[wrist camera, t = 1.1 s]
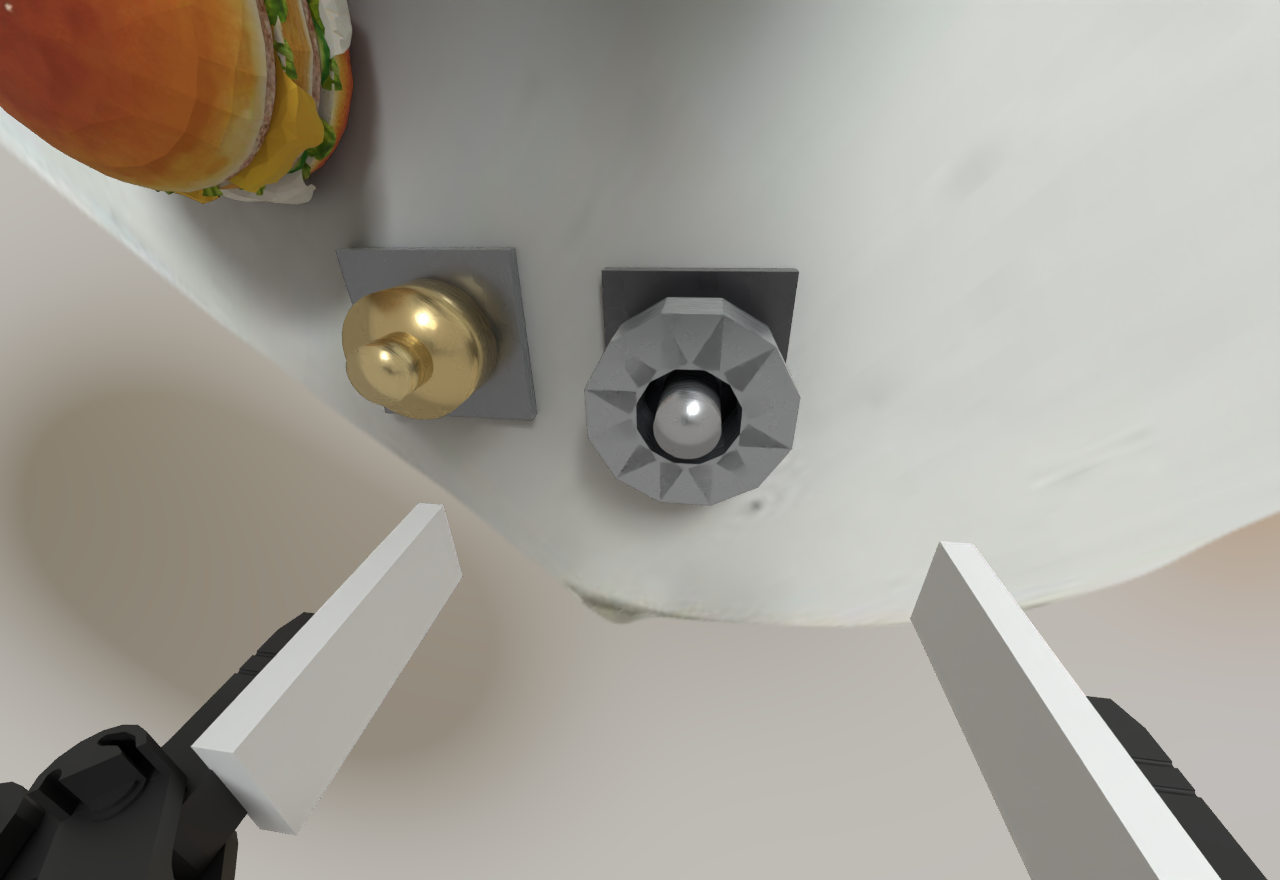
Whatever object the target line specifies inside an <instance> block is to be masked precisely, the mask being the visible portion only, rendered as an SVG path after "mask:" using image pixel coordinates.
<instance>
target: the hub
mask: <svg viewBox="0 0 1280 880" xmlns="http://www.w3.org/2000/svg"><path fill="white" fill-rule="evenodd" d="M336 253H337V256H338V260H339V263H340V266H341V269H342V273H343V276H344V279H345V282H346V286H347V289H348V292H349V295H350V299H351V302H352V305H353V306H352V307H351V309H350V310H349V311H348V313H347V315H346V318H345V320H344V324H343V330H342V344H343V350H344V354H345V357H346V360H347V362H346V371H347V375H348V378H349V380H350V382H351V384H352V385H353V387H354V388H355V389H356V390H357V392H358V393H359V394H361V395H362V396H363V397H364V398H366V399H367V400H369V401H371V402H373V403H376V404H379V405H383V406H384V409H385V412H386V413H396V414H400V415H403V416H406V417H410V418H414V419H435V418H439V417H443V416H458V417H478V418H499V419H519V420H532V419H533V418H534V417H535V415H536V414H537V410H536V402H535V395H534V387H533V380H532V373H531V365H530V358H529V350H528V343H527V335H526V328H525V320H524V313H523V306H522V298H521V291H520V283H519V276H518V268H517V261H516V254H515V248H343V249H337V250H336Z"/></svg>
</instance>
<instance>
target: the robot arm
mask: <svg viewBox="0 0 1280 880" xmlns="http://www.w3.org/2000/svg"><path fill="white" fill-rule="evenodd" d="M462 577H463V576H462V572H461V568H460V564H459V561H458V557H457V553H456V549H455V545H454V542H453V538H452V534H451V530H450V527H449V523H448V519H447V515H446V511H445V507H444V505H441V504H428V503H418V504H417V505H416V506H415V507H414V508H413V509H412V510H411V512H410V513H409V514H408V515H407V516H406V517H405V518H404V519H403V520H402V521H401V522H400V523H399V524H398V525H397V527H396V528H395V529H394V530H393V531H392V532H391V533H390V534H389V535H388V536H387V537H386V538H385V539H384V540H383V541H382V543H381V544H380V545H379V546H378V547H377V548H376V549H375V550H374V551H373V552H372V553H371V554H370V555H369V556H368V557H367V559H366V560H365V561H364V562H363V563H362V564H361V565H360V566H359V567H358V568H357V569H356V570H355V572H353V573H352V575H351V576H350V577H349V578H348V579H347V580H346V581H345V582H344V583H343V584H342V585H341V586H340V587H339V588H338V590H337V591H336V592H335V593H334V594H333V595H332V596H331V597H330V598H329V599H328V600H327V601H326V602H325V604H323V606H322V607H321V608H320V609H319V610H318V611H317V612H316V613H306V612H303V613H302V614H301V615H299V616H298V617H296V618H295V619H293V620H292V621H290V622H289V623H287V624H286V625H284V626H283V627H281V628H280V629H278V630H277V631H276V632H275V633H274V634H273V635H272V636H271V637H270V638H269V639H268V640H267V641H266V642H265V643H264V644H263V645H262V646H261V647H260V648H259V650H257V654H256V655H255V656H254V655H252V656H251V657H250V659H249V660H248V661H247V662H246V663H245V664H244V665H243V666H242V667H241V668H240V670H239V672H238V673H237V674H236V673H235V674H234V675H233V676H232V677H231V678H230V679H229V680H228V681H227V682H226V683H225V684H224V685H223V686H222V687H221V688H220V689H219V690H218V691H217V692H216V693H215V694H214V695H213V696H212V697H211V698H210V699H209V700H208V701H207V702H206V703H205V704H204V705H203V706H202V707H201V708H200V709H199V710H198V711H197V712H196V713H195V714H194V715H193V716H192V717H191V718H190V719H189V721H187V723H185V724H184V726H183V727H182V728H181V729H180V730H179V731H178V732H177V733H176V734H175V735H174V736H173V737H172V738H171V739H170V740H169V741H168V742H167V743H165V744H164V745H163V746H162V747H160V746H159V745H158V744H157V743H156V742H155V741H154V739H153V738H152V737H151V736H150V735H149V734H148V733H147V732H146V731H145V730H144V729H143V728H141V727H140V726H138V725H120V726H117V727H114V728H110V729H107V730H103V731H102V732H99V733H97V734H95V735H93V736H92V737H89V738H88V739H85V740H83V741H81V742H80V743H78V744H77V745H75V746H74V747H72V748H71V749H70V750H68V751H67V752H65V753H64V754H63V755H61V756H60V757H58V758H57V759H56V760H55V761H54V762H53V763H52V764H51V765H50V766H49V767H48V768H47V769H46V770H44V771H43V772H42V773H41V774H40V775H39V776H38V778H37V779H36V781H35V782H34V784H33V785H32V787H31V788H30V790H29V791H28V790H27V789H25V788H24V787H23V786H21V785H18V784H16V783H14V782H7V783H0V880H234V878H235V869H236V859H237V850H238V839H237V832H236V831H235V829H236V828H237V826H238V825H239V824H240V822H241V821H242V820H243V818H244V817H245V816H246V814H248V815H249V816H250V818H251V819H252V820H253V821H254V822H255V824H256V825H257V826H258V827H259V828H260V829H263V830H269V831H274V832H280V833H286V834H291V835H297V834H298V832H299V831H300V829H301V828H302V826H303V824H304V823H305V821H306V820H307V818H308V817H309V815H310V813H311V812H312V810H313V809H314V807H315V805H316V804H317V802H318V801H319V799H320V798H321V796H322V795H323V793H324V792H325V790H326V789H327V787H328V785H329V784H330V782H331V781H332V779H333V778H334V776H335V774H336V773H337V771H338V770H339V768H340V767H341V765H342V764H343V762H344V761H345V759H346V757H347V756H348V754H349V753H350V751H351V750H352V748H353V746H354V745H355V743H356V742H357V740H358V739H359V737H360V735H361V734H362V733H363V731H364V729H365V728H366V726H367V725H368V723H369V721H370V720H371V718H372V717H373V715H374V714H375V712H376V711H377V709H378V708H379V706H380V704H381V703H382V701H383V700H384V698H385V697H386V695H387V694H388V692H389V690H390V689H391V687H392V686H393V684H394V683H395V681H396V680H397V678H398V676H399V675H400V673H401V672H402V670H403V669H404V667H405V666H406V664H407V662H408V661H409V659H410V658H411V656H412V655H413V653H414V652H415V650H416V649H417V647H418V645H419V644H420V642H421V641H422V639H423V638H424V636H425V635H426V633H427V631H428V630H429V628H430V627H431V625H432V624H433V622H434V621H435V619H436V617H437V616H438V614H439V613H440V611H441V610H442V608H443V607H444V605H445V603H446V602H447V600H448V599H449V597H450V596H451V594H452V593H453V591H454V589H455V588H456V586H457V585H458V583H459V582H460V580H461V579H462ZM910 619H911V621H912V623H913V625H914V628H915V630H916V632H917V634H918V636H919V638H920V640H921V643H922V645H923V647H924V649H925V651H926V653H927V656H928V657H929V660H930V662H931V664H932V666H933V668H934V670H935V673H936V675H937V677H938V679H939V681H940V683H941V686H942V688H943V690H944V692H945V694H946V697H947V699H948V701H949V703H950V705H951V707H952V709H953V712H954V714H955V716H956V718H957V720H958V722H959V725H960V727H961V728H962V731H963V733H964V735H965V737H966V740H967V742H968V744H969V746H970V748H971V750H972V752H973V755H974V757H975V759H976V761H977V763H978V766H979V767H980V770H981V772H982V774H983V776H984V778H985V781H986V783H987V785H988V787H989V789H990V791H991V794H992V796H993V798H994V800H995V802H996V804H997V806H998V809H999V811H1000V813H1001V815H1002V817H1003V819H1004V822H1005V824H1006V826H1007V828H1008V830H1009V832H1010V835H1011V836H1012V839H1013V841H1014V843H1015V845H1016V847H1017V850H1018V852H1019V854H1020V856H1021V858H1022V860H1023V862H1024V865H1025V867H1026V869H1027V871H1028V873H1029V876H1030V878H1031V880H1267V879H1266V878H1265V876H1264V875H1263V874H1262V873H1261V871H1260V870H1259V869H1258V868H1257V866H1256V865H1255V864H1254V863H1253V861H1252V860H1251V859H1250V858H1249V856H1248V855H1247V854H1246V853H1245V852H1244V851H1243V849H1242V848H1241V846H1240V845H1239V844H1238V843H1237V842H1236V840H1235V839H1234V838H1233V837H1232V835H1231V834H1230V833H1229V832H1228V830H1227V829H1226V828H1225V827H1224V825H1223V824H1222V823H1221V822H1220V820H1219V819H1218V818H1217V817H1216V815H1215V814H1214V813H1213V812H1212V810H1211V809H1210V808H1209V807H1208V806H1207V804H1206V803H1205V802H1204V801H1203V799H1202V798H1200V797H1197V796H1196V794H1195V789H1194V788H1193V787H1192V786H1191V784H1190V783H1189V782H1188V781H1187V780H1186V778H1185V777H1184V776H1183V774H1182V773H1181V772H1180V771H1179V770H1178V768H1174V767H1173V766H1172V761H1171V760H1170V758H1169V757H1168V756H1167V755H1166V753H1165V752H1164V751H1163V750H1162V748H1161V747H1160V746H1159V745H1158V743H1157V742H1156V741H1155V740H1154V738H1153V737H1152V736H1151V735H1150V734H1149V732H1148V731H1147V730H1146V729H1145V728H1144V727H1143V726H1142V725H1141V724H1140V723H1138V722H1137V721H1136V720H1135V719H1134V718H1132V717H1131V716H1130V715H1129V714H1128V713H1126V712H1125V711H1124V710H1123V709H1122V708H1120V707H1119V706H1118V705H1117V704H1116V703H1115V702H1113V701H1112V700H1111V699H1107V698H1097V697H1089V696H1085V695H1084V693H1083V692H1082V691H1081V689H1080V688H1079V687H1078V685H1077V684H1076V683H1075V681H1074V680H1073V679H1072V677H1071V676H1070V674H1069V673H1068V672H1067V670H1066V669H1065V668H1064V666H1063V665H1062V664H1061V662H1060V661H1059V659H1058V658H1057V657H1056V655H1055V654H1054V653H1053V651H1052V650H1051V649H1050V647H1049V646H1048V645H1047V643H1046V642H1045V640H1044V639H1043V638H1042V636H1041V635H1040V634H1039V632H1038V631H1037V630H1036V628H1035V627H1034V626H1033V624H1032V623H1031V622H1030V620H1029V619H1028V618H1027V617H1026V615H1025V614H1024V612H1023V611H1022V609H1021V608H1020V607H1019V605H1018V604H1017V603H1016V601H1015V600H1014V599H1013V597H1012V596H1011V594H1010V593H1009V592H1008V590H1007V589H1006V588H1005V586H1004V585H1003V584H1002V582H1001V581H1000V580H999V578H998V577H997V575H996V574H995V573H994V571H993V570H992V569H991V567H990V566H989V565H988V563H987V562H986V561H985V559H984V558H983V557H982V555H981V554H980V552H979V551H978V550H977V548H976V547H975V546H974V544H971V543H957V542H944V541H940V542H939V544H938V547H937V549H936V552H935V555H934V557H933V560H932V563H931V565H930V568H929V571H928V573H927V576H926V579H925V581H924V584H923V587H922V589H921V592H920V594H919V597H918V600H917V602H916V605H915V608H914V610H913V613H912V616H911V618H910Z"/></svg>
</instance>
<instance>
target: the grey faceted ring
mask: <svg viewBox="0 0 1280 880" xmlns="http://www.w3.org/2000/svg"><path fill="white" fill-rule="evenodd" d="M675 369H685V370H706V371H707V372H709V373H711V374H712V375H714V376H716V377H717V378H719V379H721V380H722V381H724V382H726V383H727V384H729V385H730V386H731V388H732V390H733V392H734V394H735V396H736V397H737V406H736V407H735V408H734V410H733V411H732V412H731V414H730V415H729V416H728V418H727V419H726V420H725V422H724V423H723V424H722V425H721V436H720V439H719V442H718V443H717V445H716V446H715V448H714V449H713V450H712V451H710V452H709V453H708V454H706V455H704V456H702V457H699V458H694V459H682V458H677V457H674V456H672V455H670V454H668V453H667V452H665V451H664V450H663V449H662V448H661V447H660V446H659V444H658V443H657V441H656V439H655V436H654V432H653V425H654V420H655V417H654V415H653V414H652V412H651V410H650V409H649V407H648V405H647V404H646V402H645V389H646V388H647V386H648V384H649V383H650V382H651V381H653V380H655V379H657V378H659V377H661V376H663V375H665V374H667V373H669V372H671V371H673V370H675ZM584 392H585V405H586V418H587V431H588V439H589V440H590V442H591V443H592V445H593V446H594V448H595V449H596V451H597V452H598V453H599V455H600V456H601V458H602V459H603V461H604V462H605V463H606V465H607V466H608V468H609V469H610V471H611V472H612V473H613V475H614V476H615V478H616V479H618V480H620V481H622V482H623V483H625V484H627V485H629V486H631V487H633V488H635V489H636V490H638V491H640V492H642V493H644V494H646V495H647V496H649V497H651V498H653V499H655V500H657V501H659V502H666V503H680V504H695V505H709V506H710V505H713V504H716V503H718V502H721V501H724V500H726V499H729V498H731V497H734V496H737V495H739V494H742V493H745V492H747V491H750V490H753V489H755V488H758V487H759V486H760V485H761V483H762V482H763V481H764V480H765V479H766V478H767V477H768V476H769V474H770V473H771V472H772V471H773V470H774V469H775V468H776V466H777V465H778V464H779V463H780V462H781V461H782V460H783V459H784V457H785V456H786V455H787V454H788V453H789V452H790V451H791V449H792V445H793V439H794V433H795V427H796V420H797V414H798V408H799V402H800V396H799V394H798V391H797V389H796V386H795V384H794V381H793V379H792V377H791V374H790V372H789V370H788V368H787V365H786V363H785V361H784V359H783V357H782V355H781V353H780V351H779V348H778V346H777V344H776V342H775V340H774V338H773V336H772V334H771V331H770V329H769V327H768V326H767V325H765V324H763V323H762V322H760V321H759V320H757V319H755V318H754V317H752V316H751V315H749V314H747V313H746V312H744V311H743V310H741V309H739V308H738V307H736V306H735V305H733V304H731V303H730V302H728V301H726V300H725V299H723V298H685V297H667V298H665V299H664V300H662V301H660V302H658V303H657V304H655V305H653V306H651V307H650V308H648V309H646V310H644V311H643V312H641V313H639V314H637V315H636V316H634V317H632V318H630V319H629V320H627V321H625V322H624V323H622V324H621V326H620V327H619V329H618V330H617V332H616V333H615V335H614V336H613V338H612V339H611V341H610V343H609V344H608V346H607V348H606V350H605V352H604V354H603V355H602V357H601V359H600V361H599V363H598V365H597V367H596V368H595V370H594V372H593V374H592V376H591V378H590V379H589V381H588V383H587V385H586V387H585V389H584Z"/></svg>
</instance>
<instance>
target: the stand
mask: <svg viewBox="0 0 1280 880" xmlns="http://www.w3.org/2000/svg"><path fill="white" fill-rule="evenodd" d="M798 275H799V271H798V270H797V269H780V268H604V269H603V270H602V286H603V306H604V325H605V344H606V348H607V346H608V344H609V343H610V341H611V339H612V338H613V336H614V335H615V333H616V332H617V330H618V329H619V327H620V326H621V324H622V323H624V322H625V321H627V320H629V319H630V318H632V317H634V316H636V315H637V314H639V313H641V312H643V311H644V310H646V309H648V308H650V307H651V306H653V305H655V304H657V303H658V302H660V301H662V300H664V299H665V298H667V297H685V298H723V299H725V300H726V301H728V302H730V303H731V304H733V305H735V306H736V307H738V308H739V309H741V310H743V311H744V312H746V313H747V314H749V315H751V316H752V317H754V318H755V319H757V320H759V321H760V322H762V323H763V324H765V325H767V326H768V327H769V329H770V331H771V334H772V336H773V338H774V340H775V342H776V344H777V346H778V348H779V351H780V353H781V355H782V357H783V359H784V361H785V363H786V358H787V351H788V344H789V337H790V330H791V323H792V316H793V309H794V303H795V296H796V289H797V282H798ZM645 402H646V404H647V405H648V407H649V409H650V410H651V412H652V414H653V415H654V417H655V420H654V425H653V432H654V436H655V439H656V441H657V443H658V444H659V446H660V447H661V448H662V449H663V450H664V451H665V452H667V453H668V454H670V455H672V456H674V457H677V458H682V459H694V458H699V457H702V456H704V455H706V454H708V453H709V452H710V451H712V450H713V449H714V448H715V446H716V445H717V443H718V442H719V439H720V436H721V425H722V424H723V423H724V422H725V420H726V419H727V418H728V416H729V415H730V414H731V412H732V411H733V410H734V408H735V407H736V406H737V397H736V396H735V394H734V392H733V390H732V388H731V386H730V385H729V384H727V383H726V382H724V381H722V380H721V379H719V378H717V377H716V376H714V375H712V374H711V373H709V372H707V371H706V370H685V369H675V370H673V371H671V372H669V373H667V374H665V375H663V376H661V377H659V378H657V379H655V380H653V381H651V382H650V383H649V384H648V386H647V388H646V389H645Z"/></svg>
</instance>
